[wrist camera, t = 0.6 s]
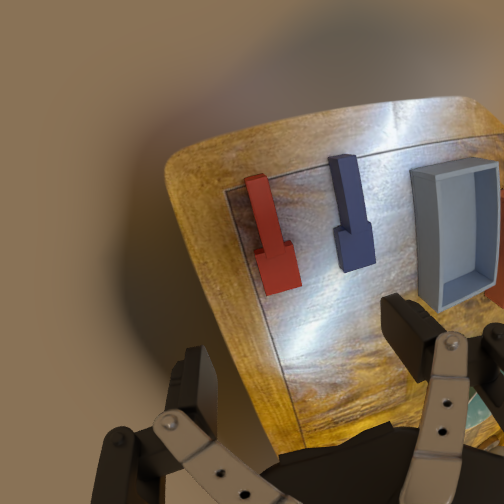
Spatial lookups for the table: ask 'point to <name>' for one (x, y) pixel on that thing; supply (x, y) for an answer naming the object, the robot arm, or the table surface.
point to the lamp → (492, 446)
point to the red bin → (499, 264)
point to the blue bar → (351, 215)
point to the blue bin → (456, 229)
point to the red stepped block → (271, 240)
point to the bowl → (476, 409)
